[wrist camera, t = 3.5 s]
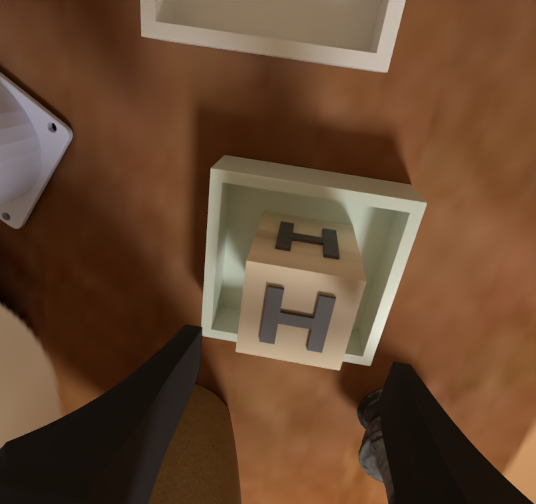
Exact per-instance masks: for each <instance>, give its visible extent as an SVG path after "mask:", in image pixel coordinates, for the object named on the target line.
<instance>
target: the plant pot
mask: <svg viewBox="0 0 536 504" xmlns="http://www.w3.org/2000/svg"><path fill="white" fill-rule="evenodd" d="M148 504H241V492H240V481H239V471H238V462H237V454H236V447H235V440H234V434H233V428H232V423H231V418H230V413H229V411H228V409H227V407H226V405H225V404H224V403H223V401H222V400H221V399H220V398H219V397H218V396H217V395H215V394H214V393H213V392H211V391H210V390H208V389H206V388H204V387H202V386H200V385H197V384H195V386H194V389H193V392H192V394H191V397H190V399H189V401H188V403H187V406H186V408H185V410H184V412H183V415H182V417H181V419H180V421H179V424H178V426H177V428H176V430H175V433H174V435H173V437H172V439H171V441H170V444H169V446H168V448H167V451H166V453H165V456H164V458H163V461H162V464H161V467H160V470H159V473H158V476H157V478H156V481H155V484H154V487H153V490H152V493H151V496H150V499H149V502H148Z"/></svg>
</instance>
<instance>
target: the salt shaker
mask: <svg viewBox="0 0 536 504" xmlns="http://www.w3.org/2000/svg"><path fill="white" fill-rule="evenodd" d="M382 391H383V389H379V390H377V391H374V392H372V393H371V394H369V395H368V396H366V397H365V398H364V399H363V400H362V402H361V403H360V405H359V408H358V418H359V421H360V423H361V425H362V426H363V427H364V428H365V429H366V431H365V434H364V437H363V440H362V445H361V448H360V450H359V462H360V464H361V466H362V468H363V469H364V471H365V472H366V473H367V474H368V475H369V476H371V477H373V478H374V479H376V480H377V481H380V482H382V483H384V485H385V488H386V492H387V498H388V504H396V498H395V493H394V488H393V483H392V478H391V474H390V469H389V464H388V460H387V455H386V450H385V445H384V441H383V436H382V431H381V423H380V412H379V399H380V396H381V393H382Z"/></svg>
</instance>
